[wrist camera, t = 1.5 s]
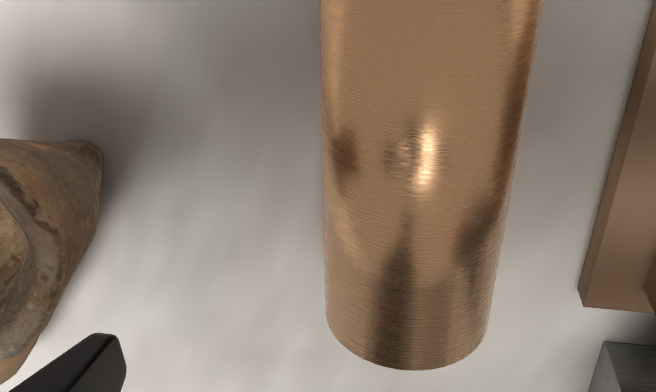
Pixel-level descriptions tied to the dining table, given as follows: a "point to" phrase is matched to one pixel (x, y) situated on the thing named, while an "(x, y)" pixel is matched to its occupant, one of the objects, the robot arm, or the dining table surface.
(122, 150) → the dining table surface
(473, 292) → the tan rounded oblong piece
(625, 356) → the valve block
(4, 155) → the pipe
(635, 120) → the pipe cradle
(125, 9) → the dining table surface
